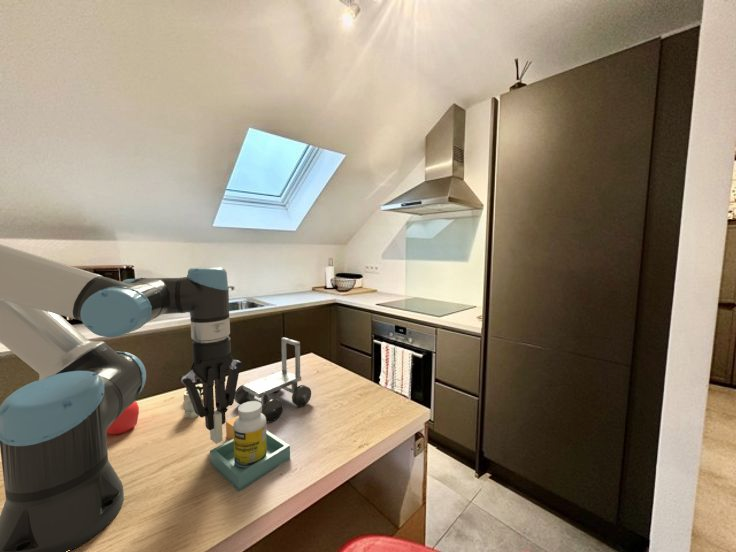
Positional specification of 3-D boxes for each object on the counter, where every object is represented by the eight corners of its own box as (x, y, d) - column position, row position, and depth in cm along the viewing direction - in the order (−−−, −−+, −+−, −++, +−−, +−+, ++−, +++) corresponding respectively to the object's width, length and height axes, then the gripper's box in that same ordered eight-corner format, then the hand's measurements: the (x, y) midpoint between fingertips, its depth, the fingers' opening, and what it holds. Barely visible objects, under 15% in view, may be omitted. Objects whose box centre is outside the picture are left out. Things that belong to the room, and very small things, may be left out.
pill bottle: (227, 465, 62) (225, 411, 61) (248, 446, 69) (246, 396, 68) (254, 472, 61) (252, 417, 60) (273, 452, 67) (272, 401, 66)
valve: (204, 417, 81) (211, 396, 93) (203, 393, 81) (211, 375, 92) (176, 421, 79) (187, 399, 91) (175, 397, 79) (186, 378, 90)
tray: (239, 491, 57) (238, 476, 56) (210, 464, 64) (209, 450, 63) (290, 458, 66) (289, 445, 65) (259, 437, 73) (259, 425, 73)
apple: (132, 417, 81) (130, 388, 80) (147, 426, 77) (145, 396, 76) (94, 432, 74) (91, 401, 73) (108, 443, 70) (105, 410, 69)
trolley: (264, 426, 77) (263, 358, 76) (234, 406, 87) (232, 346, 85) (311, 402, 90) (310, 343, 88) (280, 387, 99) (279, 334, 97)
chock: (237, 445, 70) (236, 428, 70) (226, 437, 73) (225, 421, 73) (253, 436, 73) (252, 421, 73) (241, 429, 76) (241, 414, 76)
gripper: (185, 349, 59) (192, 463, 61) (248, 334, 69) (252, 432, 71) (171, 341, 63) (178, 447, 66) (231, 328, 74) (235, 421, 76)
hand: (216, 439), depth 68 cm, fingers closed
